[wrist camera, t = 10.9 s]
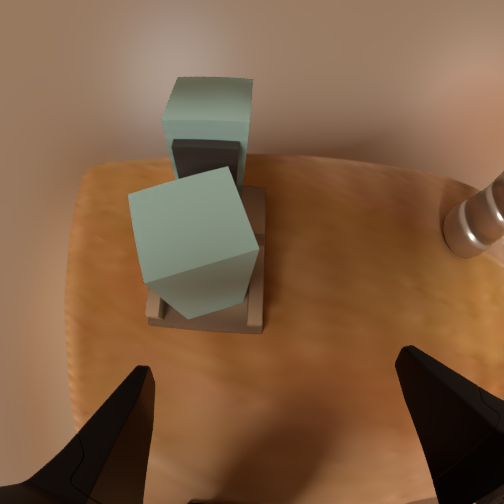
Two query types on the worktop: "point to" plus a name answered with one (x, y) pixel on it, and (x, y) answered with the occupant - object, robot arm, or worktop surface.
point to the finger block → (194, 242)
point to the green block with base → (206, 159)
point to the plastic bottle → (476, 221)
